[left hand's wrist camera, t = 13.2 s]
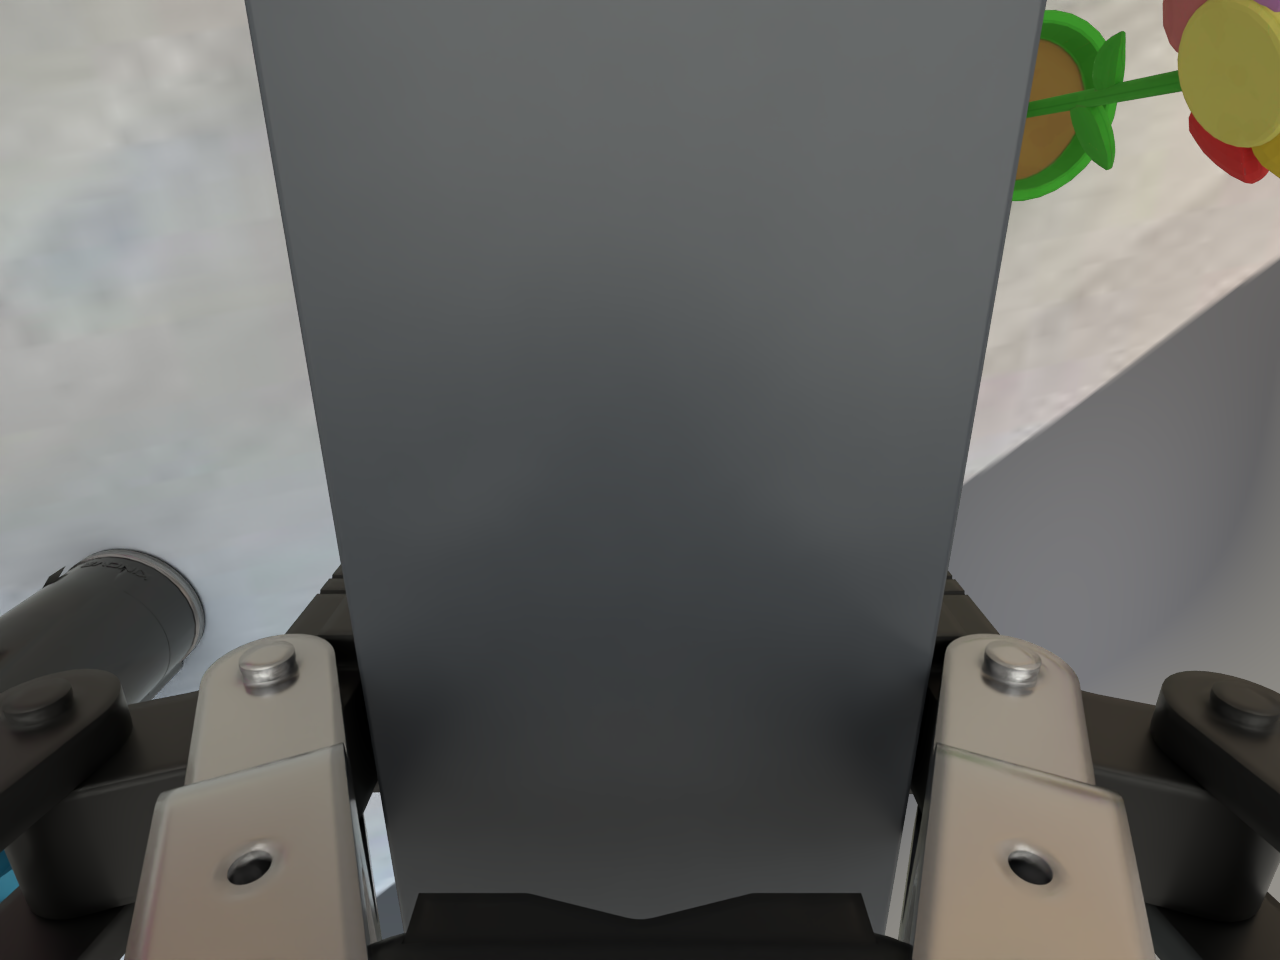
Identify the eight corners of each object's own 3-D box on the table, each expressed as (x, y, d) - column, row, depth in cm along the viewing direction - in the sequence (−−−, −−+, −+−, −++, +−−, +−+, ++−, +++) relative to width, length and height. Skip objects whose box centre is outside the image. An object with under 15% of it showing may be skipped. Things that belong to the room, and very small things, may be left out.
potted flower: (1067, 160, 40) (1639, 129, 17) (931, 233, 42) (1288, 295, 19) (1012, -17, 37) (1618, -349, 14) (868, 68, 39) (1200, -104, 15)
